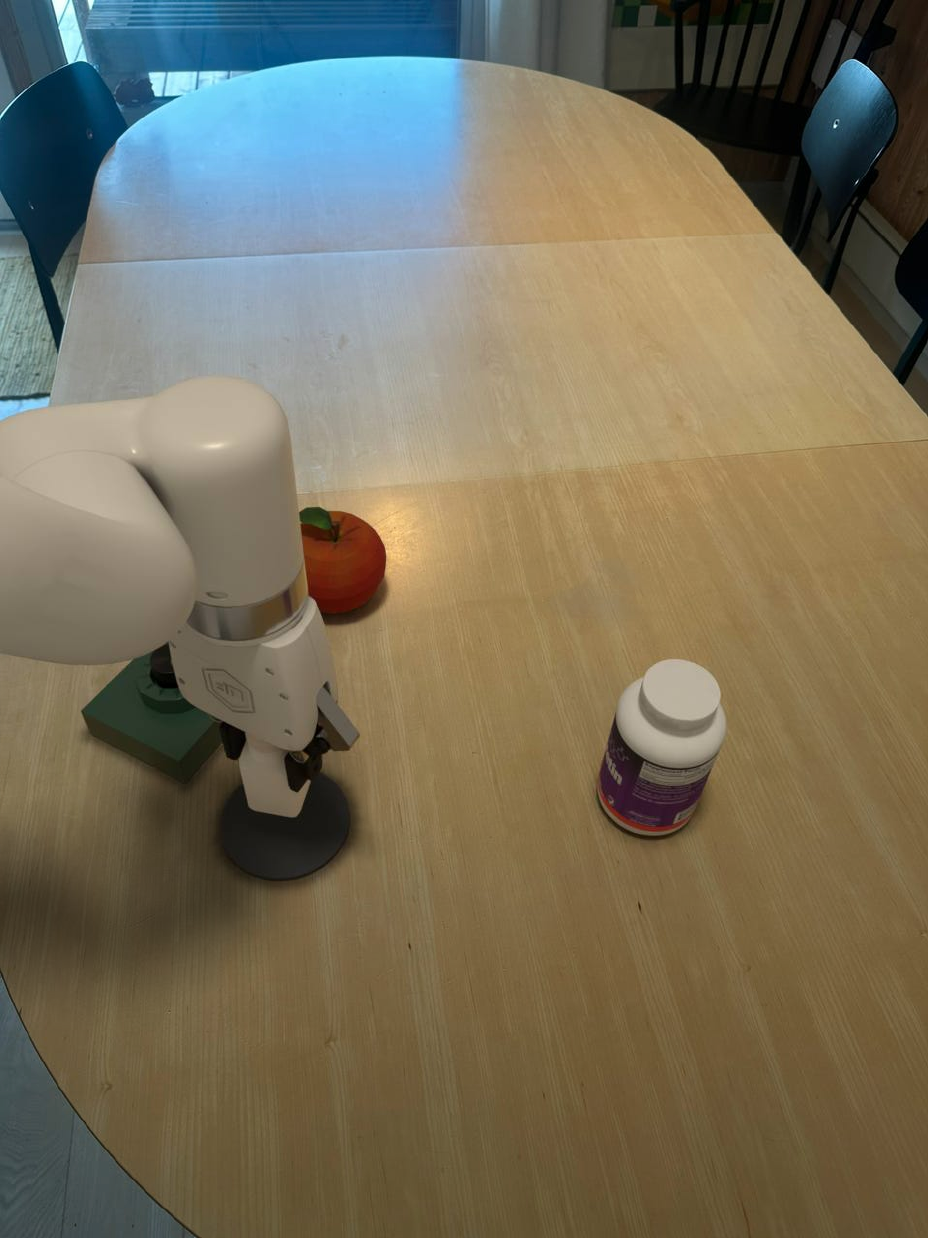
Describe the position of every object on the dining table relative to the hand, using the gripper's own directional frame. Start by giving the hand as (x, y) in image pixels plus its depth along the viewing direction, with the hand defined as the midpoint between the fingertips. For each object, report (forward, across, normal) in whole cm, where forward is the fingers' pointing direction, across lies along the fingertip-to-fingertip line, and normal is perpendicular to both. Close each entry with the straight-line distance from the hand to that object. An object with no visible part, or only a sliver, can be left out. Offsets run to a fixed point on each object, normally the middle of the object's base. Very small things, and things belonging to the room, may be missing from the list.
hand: (274, 759), depth 70 cm
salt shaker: (+5, 0, 0) cm, 5 cm away
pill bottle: (+9, +24, +16) cm, 30 cm away
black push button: (+4, -14, +5) cm, 15 cm away
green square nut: (+9, -14, +5) cm, 17 cm away
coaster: (+9, 0, 0) cm, 9 cm away
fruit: (+9, -10, +23) cm, 27 cm away
